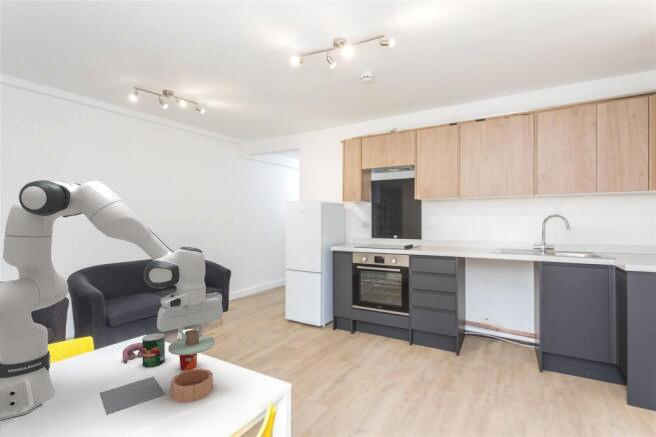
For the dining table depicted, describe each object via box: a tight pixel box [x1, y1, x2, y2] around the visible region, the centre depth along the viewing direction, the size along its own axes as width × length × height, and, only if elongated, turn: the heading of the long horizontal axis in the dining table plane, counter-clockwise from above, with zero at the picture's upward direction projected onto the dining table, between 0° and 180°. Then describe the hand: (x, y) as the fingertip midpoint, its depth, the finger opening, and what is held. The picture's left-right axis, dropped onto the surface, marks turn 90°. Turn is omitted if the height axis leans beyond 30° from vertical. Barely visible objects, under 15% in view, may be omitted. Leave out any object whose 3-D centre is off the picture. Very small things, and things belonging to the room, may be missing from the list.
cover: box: [167, 328, 216, 356], centre depth 106 cm, size 14×14×5 cm
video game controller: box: [122, 342, 143, 364], centre depth 133 cm, size 10×5×7 cm, turn 131°
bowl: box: [170, 368, 214, 404], centre depth 106 cm, size 12×12×5 cm
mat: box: [99, 376, 167, 416], centre depth 105 cm, size 16×16×1 cm
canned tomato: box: [141, 332, 166, 369], centre depth 127 cm, size 8×8×11 cm
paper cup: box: [176, 328, 198, 372], centre depth 123 cm, size 8×8×14 cm
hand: (191, 338), depth 106 cm, fingers closed on cover, 3 cm apart
